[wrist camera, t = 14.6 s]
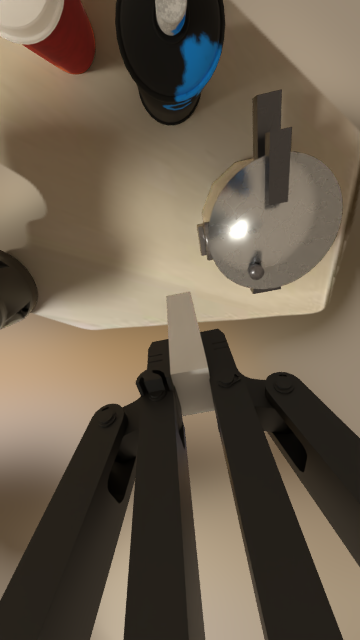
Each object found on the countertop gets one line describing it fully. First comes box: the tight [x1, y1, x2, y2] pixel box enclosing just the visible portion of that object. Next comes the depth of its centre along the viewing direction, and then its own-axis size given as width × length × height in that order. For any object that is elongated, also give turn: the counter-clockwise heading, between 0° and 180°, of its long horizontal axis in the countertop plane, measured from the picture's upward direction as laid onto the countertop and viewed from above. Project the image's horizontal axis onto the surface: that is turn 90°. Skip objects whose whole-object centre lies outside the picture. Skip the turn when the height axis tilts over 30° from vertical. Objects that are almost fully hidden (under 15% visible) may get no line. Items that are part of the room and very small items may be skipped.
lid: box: [203, 127, 343, 289], centre depth 31 cm, size 17×19×3 cm
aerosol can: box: [115, 0, 225, 125], centre depth 23 cm, size 8×8×20 cm
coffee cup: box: [0, 0, 95, 74], centre depth 23 cm, size 8×8×15 cm
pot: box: [197, 89, 282, 294], centre depth 36 cm, size 18×24×9 cm
